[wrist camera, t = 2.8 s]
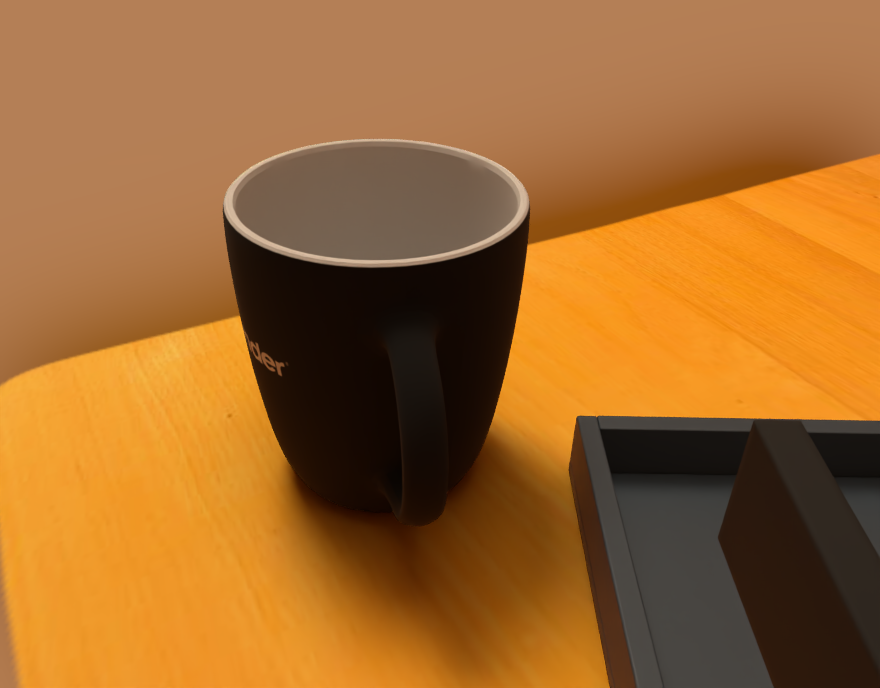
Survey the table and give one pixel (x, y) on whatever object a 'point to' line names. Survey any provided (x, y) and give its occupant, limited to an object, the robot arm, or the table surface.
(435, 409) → the mug
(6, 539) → the table surface
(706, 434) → the tray
